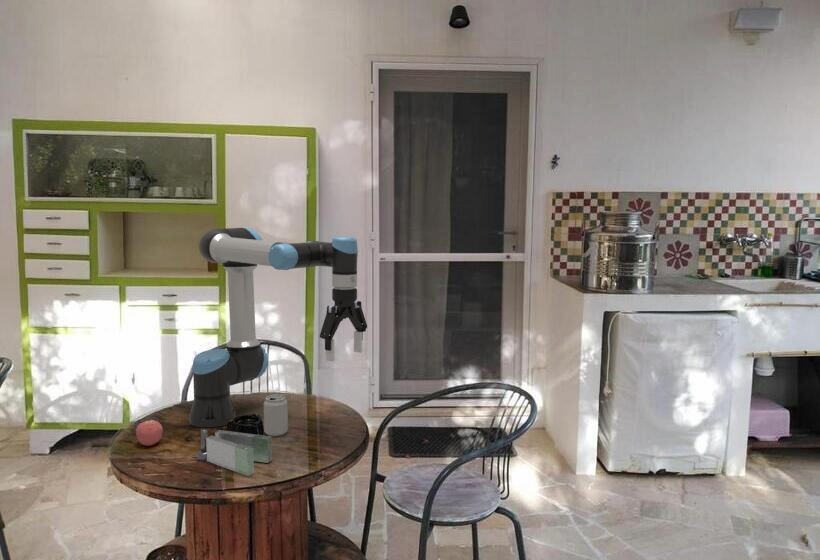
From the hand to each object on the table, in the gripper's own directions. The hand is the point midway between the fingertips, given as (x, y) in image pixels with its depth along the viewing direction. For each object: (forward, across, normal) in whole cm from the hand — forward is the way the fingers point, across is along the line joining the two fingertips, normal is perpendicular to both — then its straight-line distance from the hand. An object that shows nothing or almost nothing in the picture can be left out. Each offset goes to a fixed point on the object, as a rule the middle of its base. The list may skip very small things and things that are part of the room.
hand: (344, 356), depth 189 cm
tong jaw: (+27, -27, +15) cm, 41 cm away
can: (+27, -7, +22) cm, 36 cm away
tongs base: (+27, -34, +16) cm, 46 cm away
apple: (+27, -36, +46) cm, 65 cm away
